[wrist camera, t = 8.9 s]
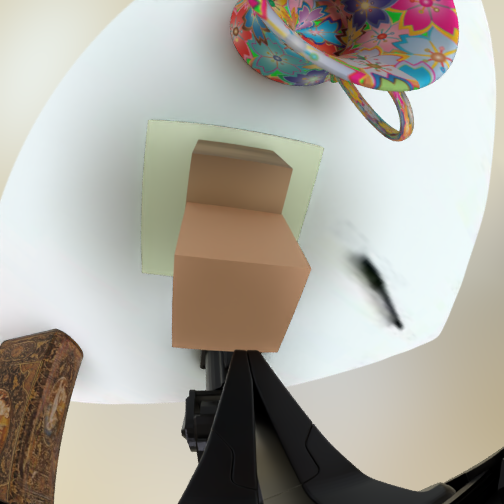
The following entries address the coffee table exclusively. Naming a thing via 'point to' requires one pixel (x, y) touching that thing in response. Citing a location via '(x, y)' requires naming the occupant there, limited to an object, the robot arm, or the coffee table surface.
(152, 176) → the baseplate
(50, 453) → the book
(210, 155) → the walnut brick
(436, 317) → the coffee table surface
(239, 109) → the coffee table surface
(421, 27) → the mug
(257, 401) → the robot arm
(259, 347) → the cube
